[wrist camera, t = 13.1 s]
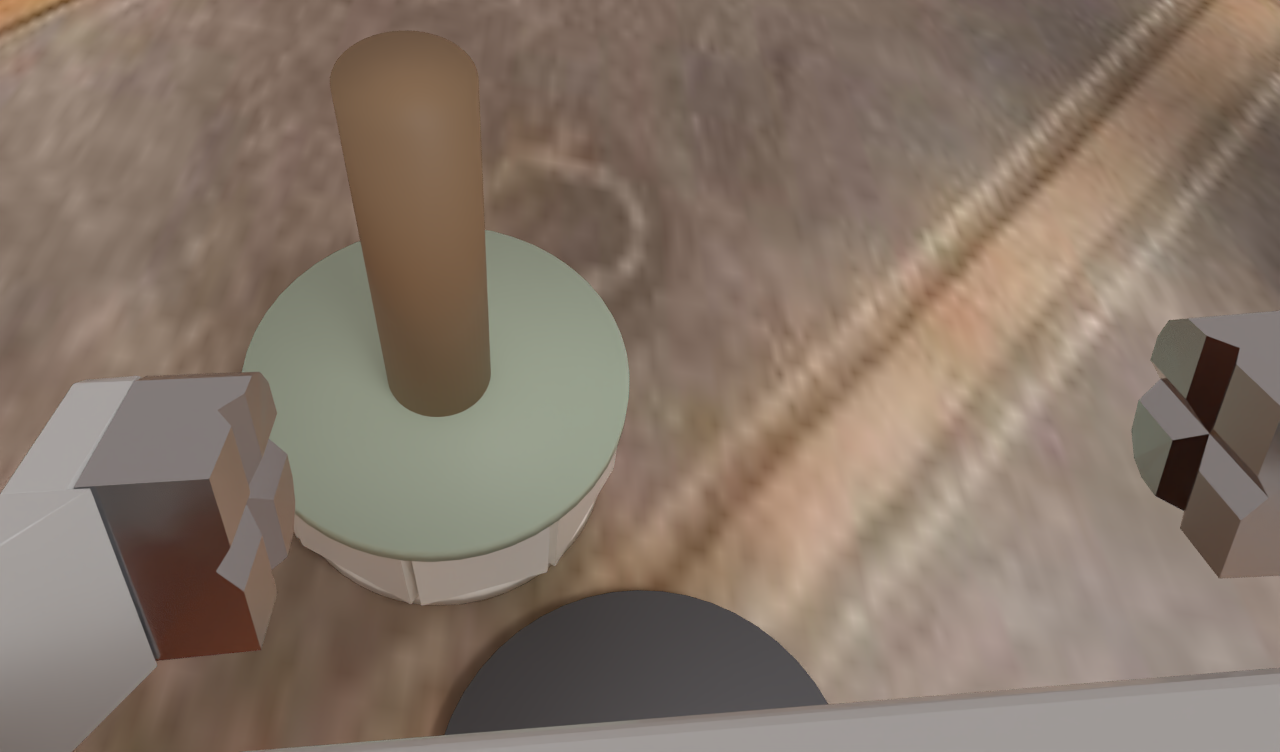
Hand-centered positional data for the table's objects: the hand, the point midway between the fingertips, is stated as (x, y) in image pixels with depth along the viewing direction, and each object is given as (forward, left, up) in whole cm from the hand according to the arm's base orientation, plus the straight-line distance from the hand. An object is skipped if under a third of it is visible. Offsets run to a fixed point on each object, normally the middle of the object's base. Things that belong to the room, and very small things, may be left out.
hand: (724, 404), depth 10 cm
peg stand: (-9, -10, -21) cm, 25 cm away
